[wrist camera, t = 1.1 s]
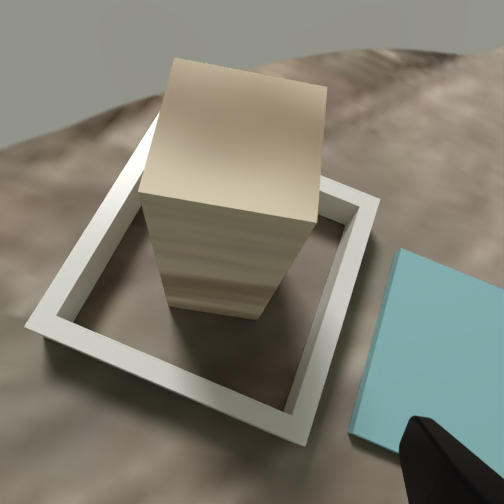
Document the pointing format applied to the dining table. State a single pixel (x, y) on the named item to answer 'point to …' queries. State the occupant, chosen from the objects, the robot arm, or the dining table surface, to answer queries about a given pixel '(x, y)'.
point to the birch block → (231, 185)
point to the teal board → (435, 359)
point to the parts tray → (176, 379)
